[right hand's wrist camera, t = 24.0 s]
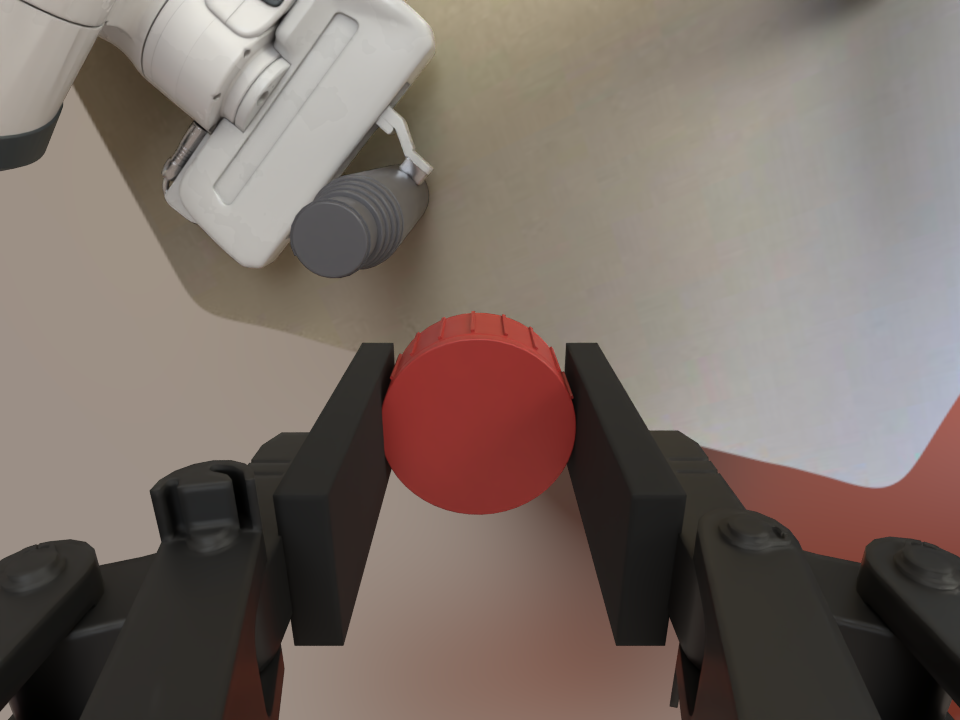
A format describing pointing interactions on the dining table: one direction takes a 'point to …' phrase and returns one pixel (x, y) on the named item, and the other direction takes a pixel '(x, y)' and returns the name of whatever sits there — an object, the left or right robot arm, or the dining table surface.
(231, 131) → the left robot arm
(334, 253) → the bottle
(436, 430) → the cap
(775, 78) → the dining table surface
